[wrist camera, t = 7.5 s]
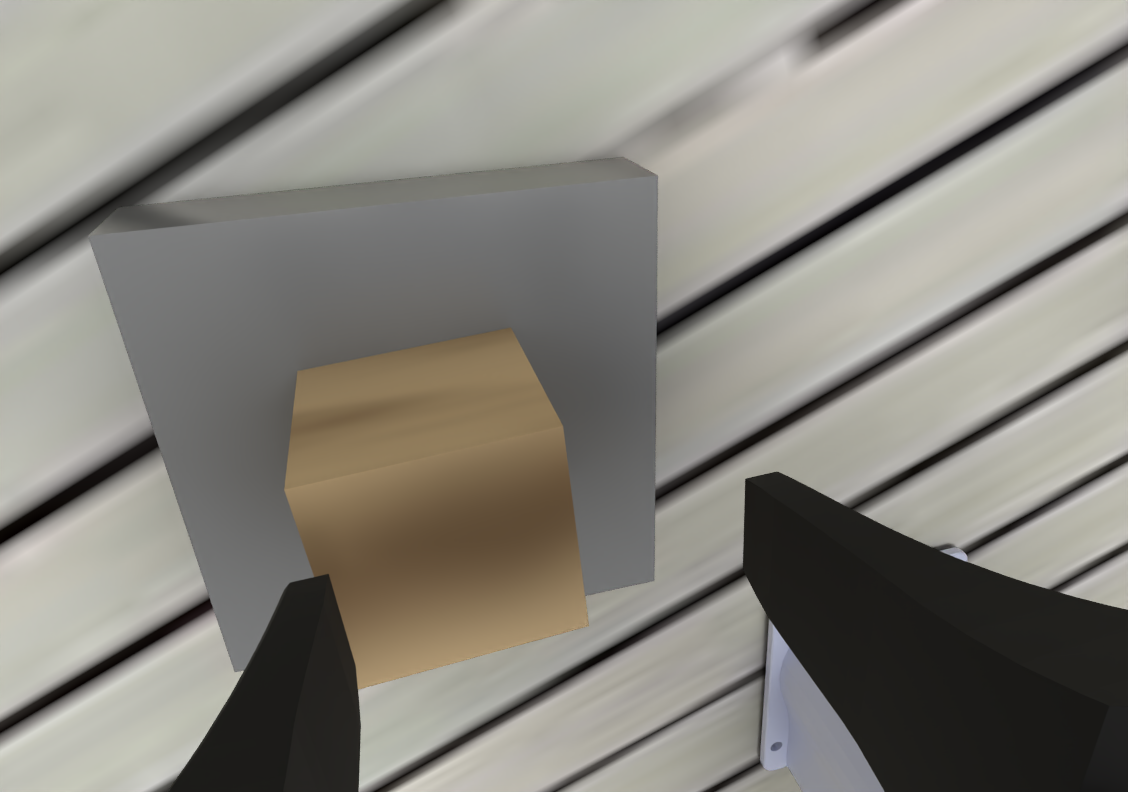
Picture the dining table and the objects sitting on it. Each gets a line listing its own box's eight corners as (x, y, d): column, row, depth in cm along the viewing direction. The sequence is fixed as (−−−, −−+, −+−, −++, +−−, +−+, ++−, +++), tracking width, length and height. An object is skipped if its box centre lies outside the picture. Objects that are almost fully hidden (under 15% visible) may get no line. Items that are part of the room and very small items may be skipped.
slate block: (622, 523, 26) (654, 580, 23) (245, 598, 24) (234, 672, 21) (617, 153, 20) (657, 175, 18) (123, 202, 18) (88, 235, 15)
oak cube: (537, 497, 21) (588, 625, 17) (349, 543, 20) (353, 691, 16) (510, 327, 19) (562, 425, 14) (297, 370, 18) (284, 489, 13)
